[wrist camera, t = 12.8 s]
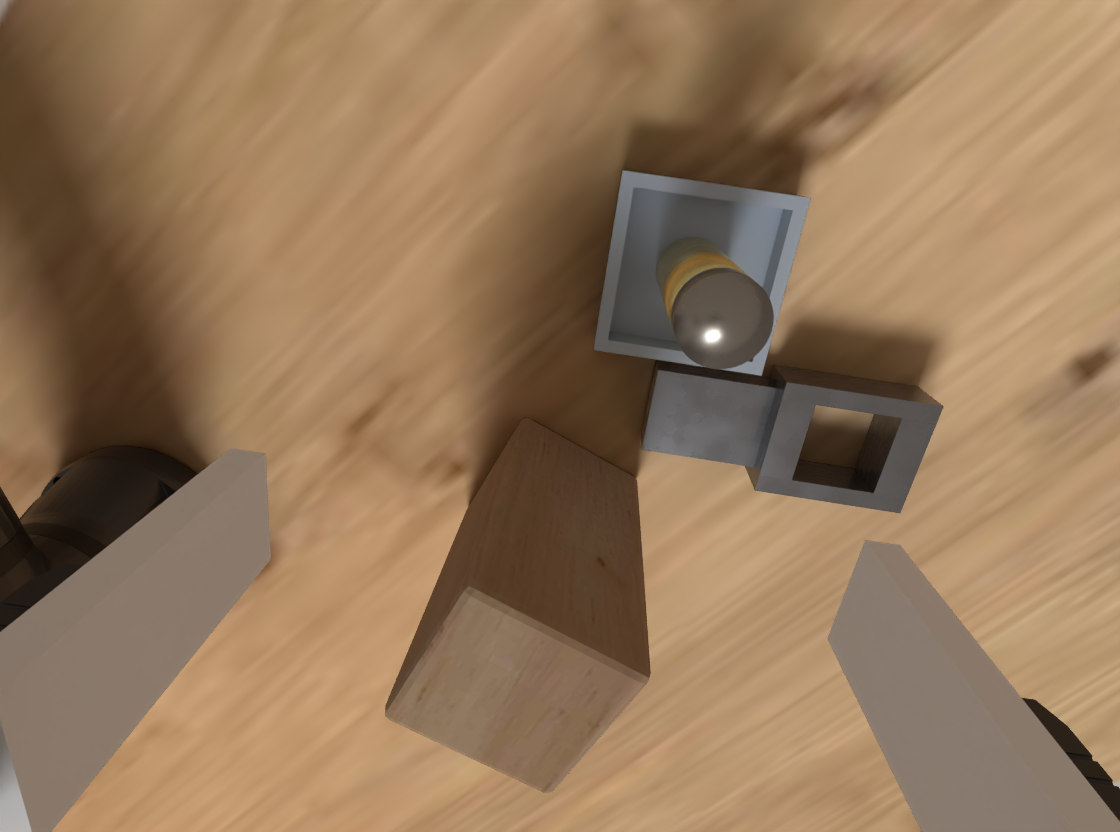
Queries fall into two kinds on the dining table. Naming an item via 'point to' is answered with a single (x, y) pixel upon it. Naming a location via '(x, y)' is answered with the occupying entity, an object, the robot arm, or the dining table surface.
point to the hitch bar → (791, 429)
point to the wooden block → (533, 615)
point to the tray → (680, 212)
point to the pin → (712, 304)
